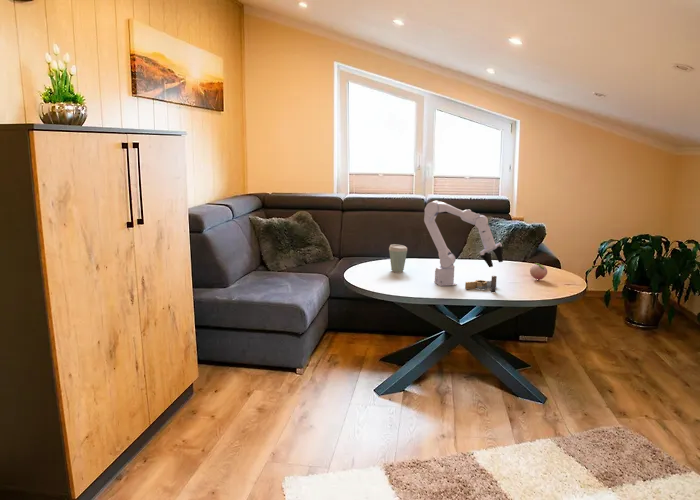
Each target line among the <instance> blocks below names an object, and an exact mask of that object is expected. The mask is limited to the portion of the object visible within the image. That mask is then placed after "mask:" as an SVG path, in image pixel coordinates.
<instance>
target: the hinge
mask: <svg viewBox="0 0 700 500" xmlns="http://www.w3.org/2000/svg"><path fill="white" fill-rule="evenodd" d="M464 286H465V287H464V289H465V290H473V289H474V290H479V289H480V291H481V290H482V291H484V290H487V289H491V280H483V279H476V280H475V281H465V284H464Z"/></svg>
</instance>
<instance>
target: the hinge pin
mask: <svg viewBox="0 0 700 500" xmlns="http://www.w3.org/2000/svg"><path fill="white" fill-rule="evenodd" d="M490 281H491V288H490V293H492V292H495V293H496V291H497V289H496V288H497V276H496V275H491V280H490Z"/></svg>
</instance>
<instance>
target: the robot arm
mask: <svg viewBox="0 0 700 500" xmlns="http://www.w3.org/2000/svg"><path fill="white" fill-rule="evenodd" d="M444 212H447V213H448V214H452V215H454V216H457V217H460V220H462V221H463V222H466V223H468V224H471V225H473V226H475V227H476V228H477V230H478V233H479V236H480V237H479V238H480V239H481V243H482V245H483V249H482V250H481V251H479V255H480V258H482V260H484V262H485V263H486V264H487V266H488V267H489V268H492V267H494V264H493V261H492V260H493V259H492V251H493V252H494V254H495V256H496V259H497V261H498V263H502V262H503V261H504V259H503V252H504V251H503V250H504V246H503V244H502V242H497V243H496V242H495V239H494V237H493V232H492V231H491V228H490V225H489V223H488V222H489V218H488V217H487V216H486V215H484V214H480V213H476V212H474V211H472V210H471V209H464V210H462V209H459V208H457V207H455V206H453V205H451V204H448V203H447V202H443V201H439V200H433V201H430V202H428V203H427V204H426V205H425V208H424V216H423V217H424V218H423V222H424V224H425V226H426V228H427V231H428V232H429V235H430V237H431V239H432V241H433V243H434V245H435V247H436V250H437V252H438V258H439V264H440V266H439V267H435V270H434V281H433V282H434V283H435V284H436V285H437V286H440V287H442V286H457V283H456V282H455V281H454V280H455V265H454V263H455V262H456V260H457V259H456V256H455V254H454V253H452V252H451V250H450V249H449V248H448V246H447V244H446V242H445V240H444V237H443V235H442V233H441V230H440V229H439V227H438V224H437V222H436V218H437V216H438V214H440V213H444ZM490 252H491V253H490Z"/></svg>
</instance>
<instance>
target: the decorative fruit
mask: <svg viewBox="0 0 700 500" xmlns="http://www.w3.org/2000/svg"><path fill="white" fill-rule="evenodd" d="M540 263H541V262H539V263H537V262H535V263H534V264H533V265H532V266H530V269H529V274H530V275H531V277H532V278H534V279H536V280H537V279H538V280H537V281H540V280H542V279H544V278H545V277H547V275H548V269H547V267H546V266H545V265H543V264H540Z"/></svg>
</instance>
